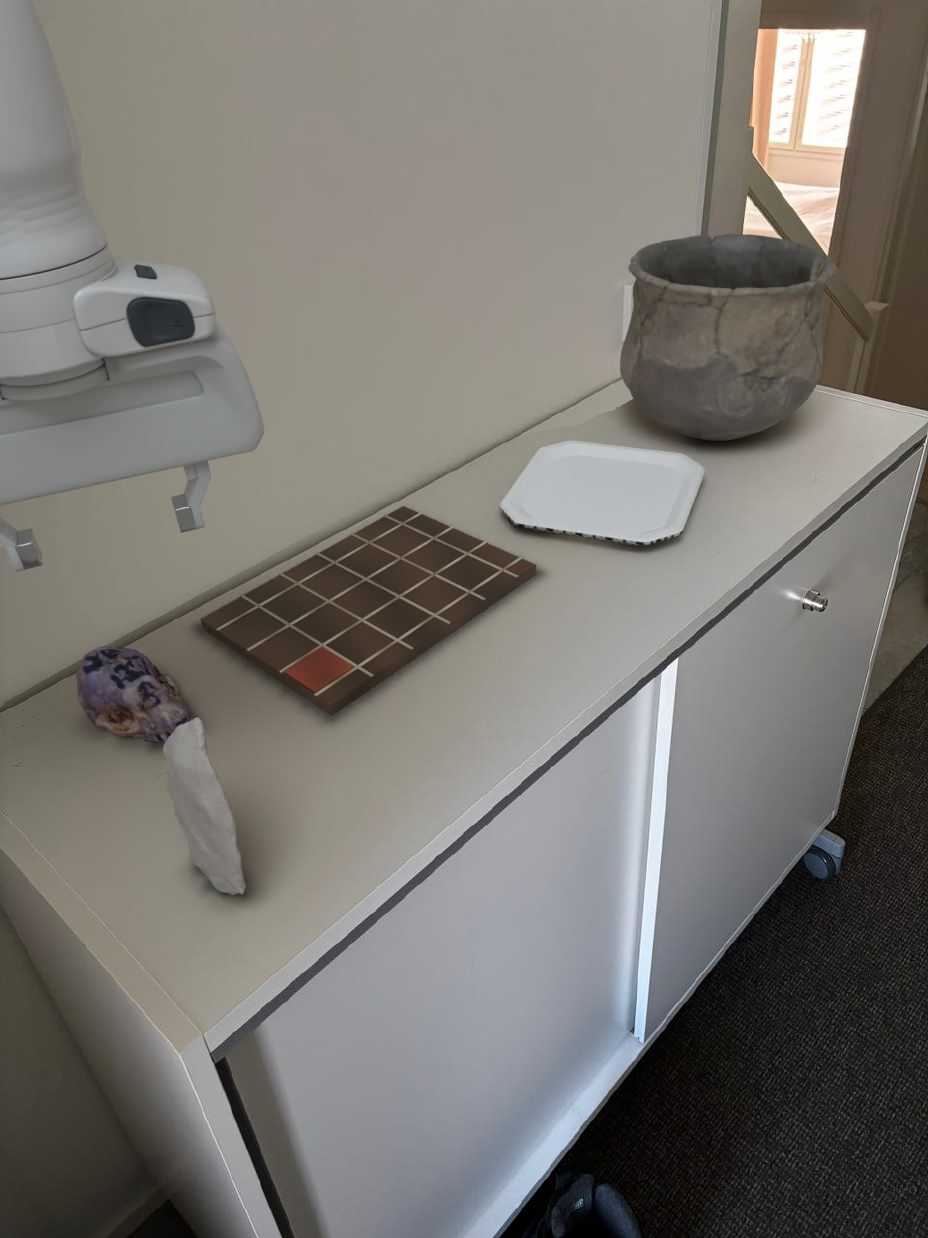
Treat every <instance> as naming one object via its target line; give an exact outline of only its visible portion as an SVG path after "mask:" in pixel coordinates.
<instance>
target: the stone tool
mask: <svg viewBox="0 0 928 1238" xmlns="http://www.w3.org/2000/svg"><path fill="white" fill-rule="evenodd" d="M205 728H206V727H205V725H204V722H203V721H202V719H201V718H200V717H199V716H198V717H197V716H196V717H194V718H193V720H191V721H189V722H186V723H185V724H181V725H179V726H178V727H176V728H175V731H174V732H173V733H172V734H170V735H169V736H168V739H167V741H166V742H165V741H164V744H163V747H162V753H163V755H164V759H165V762H166V774H167V776H166V777H167V780H166V781H167V784H166V787H167V792H168V793H167V794H168V795H169V797H170V799H171V800H172V802H173V813H174V816H175V817H176V818H177V821H178V823H179V826H180V828H181V830H182V833H183V835H184V838H185V840H186V842H187V846H188V848H189V853H190V858H191V860H192V863H193V864H194V865H195V866H196V867H197V868H198V869H199V870H200V871H201V872H202V874H203V875H205V877H207V879H208V880H209V881H210V882H211V884H212V886H213V887H214V888H215V889H216V890H218V891H219V892H221V893H226V894H229V895H231V896H233V897H234V896H235V895H237V894H240V895H243V894H244V893H245V890H246V888H247V884H246V882H245V877H244V873H243V868H242V856H241V855H242V854H241V851H240V849H239V846H238V843H237V825H236V821H235V820H236V819H235V816H234V814H233V812H232V810H231V808H230V805H229V798H228V795H227V793H226V791H225V789H224V786H223V783H222V781H221V778H220V777H219V775H218V774H217V772H216V770H215V767H214V766H213V764H212V761H211V758H210V755H209V752H208V751H209V750H208V743H207V733H206V732H207V731H206V729H205Z"/></svg>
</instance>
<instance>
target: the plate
mask: <svg viewBox="0 0 928 1238" xmlns="http://www.w3.org/2000/svg"><path fill="white" fill-rule="evenodd" d="M705 474H706V469H705V467H703V466H702V465H701V464H700V463H698V462H696V461H695V460H693V459H692V458H691V457H689V455H688V456H687V455H686V454H684V453H681V452H675V451H674V452H673V451H665V450H657V449H649V448H641V447H640V448H639V447H631V446H624V445H623V446H622V445H615V444H614V445H613V444H605V443H597V442H588V441H579V440H572V439H571V440H565V441H561V442H556V443H552V444H549V445H545V446H542V447H540V448H538V449H537V450H536V452H535V453H534V454H533V456H532V457H531V459H530V460H529V461H528V463H527V464H526V465H525V467H524V468H523V470H522V471H521V473H520V474H519V476H518V477H517V479H516V480H515V481H514V483H513V484H512V486H511V487H510V488H509V489H508V492H506V494H505V496H503V498H502V500H500V501H501V502H500V503H499V509H500V511H501V512H502V513H503V514H504V515H505V516H506V518H508V519H509V520H510V521H511V523H513V524H514V525H516V526H517V527H521V528H525V529H529V530H534V531H538V532H545V533H550V534H556V535H557V534H558V535H563V536H569V537H576V538H577V537H578V538H583V539H590V540H595V541H601V542H602V541H603V542H608V543H615V544H621V545H628V546H648V545H652V544H656V543H659V542H662V541H665V540H666V541H667V540H669V539H672V538H675V537H679V536H681V534H683V533H684V532H683V531H684V529H685V526H686V524H687V521H688V519H689V516H690V513H691V511H692V508H693V505H694V503H695V501H696V499H697V497H698V496H697V495H698V493H699V490H700V488H701V486H702V483H703V480H704V477H705Z"/></svg>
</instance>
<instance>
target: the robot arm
mask: <svg viewBox="0 0 928 1238" xmlns="http://www.w3.org/2000/svg"><path fill="white" fill-rule="evenodd" d="M57 66H58V65H57V62H56V59H55V57H54V54H53V51H52V48H51V46H50V43H49V40H48V38H47V34H46V33H45V29H44V27H43V24H42V21H41V19H40V17H39V13H38V12H37V10H36V7H35V5H34V2H33V0H0V507H2V506H5V505H10V504H14V503H19V502H23V501H28V500H33V499H37V498H43V497H46V496H51V495H56V494H61V493H66V492H70V491H74V490H79V489H85V488H89V487H92V486H93V487H94V486H98V485H102V484H107V483H111V482H116V481H121V480H125V479H130V478H134V477H138V476H143V475H148V474H152V473H157V472H162V471H167V470H171V469H176V468H181V467H183V470H184V473H185V476H186V479H187V482H186V485H185V488H184V491H183V493H182V494H178V495H174V496H171V498H170V499H171V502H172V506H173V509H174V513H175V517H176V521H177V524H178V527H179V531H180V533H185V532H186V533H187V532H190V531H194V530H195V531H196V530H199V529H203V528H205V521H204V518H203V514H202V509H201V507H200V506H201V505H200V504H202V503H203V500H204V497H205V494H206V492H207V489H208V486H209V483H210V482H211V478H212V473H211V469H210V465H209V461H213V460H219V459H222V458H227V457H231V456H235V455H242V454H246V453H251V452H253V451H255V450H256V449H257V447H258V446H259V444H260V442H261V440H262V438H263V436H264V435H265V427H264V426H265V425H264V422H263V417H262V414H261V410H260V407H259V406H260V405H259V403H258V400H257V397H256V393H255V390H254V388H253V386H252V382H251V380H250V378H249V376H248V375H249V374H248V372H247V370H246V368H245V366H244V363H243V362H242V361H243V360H242V359H241V357H240V355H239V353H238V350H237V349H236V346H235V345H234V344H233V342H232V340H231V338H230V337H229V336H228V334H227V333H226V330H225V329H224V328H223V327H222V325H220V323H219V322H218V321H217V316H216V310H215V304H214V301H213V297H212V294H211V292H210V290H209V289H208V287H207V285H206V284H205V282H204V281H203V280H202V279H201V278H200V276H198V275H197V274H196V273H195V272H194V271H193V270H191V269H190V268H187V267H184V266H180V265H173V264H167V263H160V262H152V261H145V260H139V259H132V258H127V257H120V256H114V255H112V253H111V250H110V247H109V243H108V239H107V237H106V233H105V230H104V228H103V226H102V224H101V223H100V221H99V219H98V217H97V216H96V214H95V213H94V211H93V209H92V207H91V205H90V202H89V199H88V197H87V195H86V191H85V188H84V183H83V176H82V149H81V143H80V137H79V134H78V130H77V127H76V124H75V120H74V117H73V114H72V110H71V107H70V104H69V101H68V96H67V94H66V91H65V88H64V87H65V86H64V84H63V81H62V78H61V76H60V75H61V74H60V72H59V69H58V67H57ZM0 548H1V549H2V550H4V549H5V551H6V553H7V556H8V558H9V560H10V562H11V565H12V568H13V570H14V571H15V572H17V573H18V572H21V571H25V570H29V569H34V568H38V567H41V566H43V553H42V550H41V547H40V544H39V543H37V536H36V534H35V531H34V529H33V528H26V529H21V530H18V529H16V528H15V527H13V526H12V525H11V524H10V523H9V522H7V521H6V520H5V519H3V518H2V517H1V516H0Z"/></svg>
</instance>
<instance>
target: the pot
mask: <svg viewBox="0 0 928 1238" xmlns="http://www.w3.org/2000/svg"><path fill="white" fill-rule="evenodd" d="M826 260H827V257H826V256H825V255H824V254H823V253H822V252H821V251H820V250H818V249H816V248H815V247H814V246H811V245H808V244H804V243H800V242H799V243H798V242H797V243H796V242H794V241H792V240H788V239H783V238H779V237H773V236H767V235H761V234H759V235H758V234H748V233H747V234H744V233H727V234H726V233H725V234H719V235H715V236H714V237H713V238H712V237H711V236H710V235H708V234H699V235H698V234H697V235H692V236H691V235H690V236H687V237H682V238H676V239H667V240H661V241H660V242H655V243H651V244H648V245H646V246H644V247H641V248H640V249H639V250H637V252H636V253H635V254H634V255H633V256H632V257H631V258H630V263H629V264H628V267H627V268H628V271H629V273H631V275H632V276H633V277H634V278H635V280H634V283H633V285H632V301H633V302H632V303H633V307H632V313H631V317H630V320H629V324H628V328H627V332H626V335H625V338H624V341H623V344H622V347H621V351H620V358H619V372H620V376H621V379H622V381H623V383H624V384H625V386H626V388H627V390H629V392H630V395H631V397H632V399H633V401H634V403H636V405H637V406H638V407H639V408H640V409H641V410H642V411H643V412H644V413H646V414H647V415H648V416H649V417H650V418H651V419H652V420H654V422H655V423H656V424H657V425H659V426H661V427H663V428H665V429H667V430H669V431H672V432H674V433H676V434H680V435H682V436H684V437H687V438H688V437H690V438H694V439H699V440H704V441H712V442H724V441H731V440H732V441H734V440H738V439H741V438H744V437H748V436H752V435H754V434H757V433H760V432H763V431H765V430H767V429H769V428H771V427H773V426H775V425H776V424H777V423H779V422H781V421H783V420H785V419H786V418H788V417H790V415H792V414H794V413H795V412H796V411H797V410H798V409H800V408H801V407H802V406H803V405H804V404H805V403H806V402H807V400H808V399H809V398H810V397H811V395H812V394H813V392H814V391H815V389H816V387H817V385H818V383H819V382H820V380H821V378H822V374H823V368H824V367H823V366H824V341H823V326H822V325H823V315H824V311H825V309H824V308H825V306H824V305H825V304H824V295H825V288H826V287H825V286H826V284H827V283H829V281H830V280H831V279H832V278H833V277H835V275H836V274H837V272H838V267H837V266H836V264H835V263H834V262H831V261H828V262H825V261H826ZM824 262H825V263H824ZM823 263H824V265H823V266H822V267H821V265H822V264H823ZM820 268H821V269H820Z"/></svg>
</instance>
